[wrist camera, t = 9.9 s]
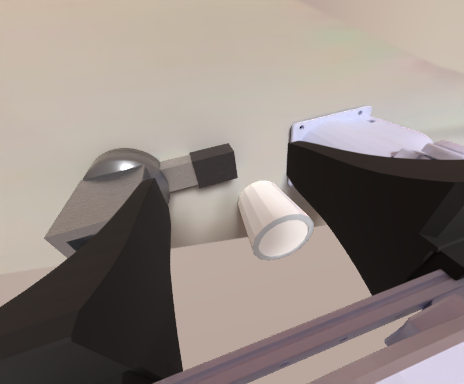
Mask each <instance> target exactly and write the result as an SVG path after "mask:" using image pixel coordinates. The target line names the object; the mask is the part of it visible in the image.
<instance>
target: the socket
mask: <svg viewBox="0 0 464 384" xmlns="http://www.w3.org/2000/svg"><path fill="white" fill-rule="evenodd" d="M147 179H151V176H150V174H149V172H148V170H147V168H146V166H145V165H141V166H137V167H133V168H129V169H125V170H121V171H117V172H113V173H109V174H105V175H101V176H97V177H93V178H89V179H85V180H81V181H80V183H79V184H78V186H77V187H76V189H75V190H74V192H73V193H72V195H71V197H70V198H69V200H68V201H67V203H66V204H65V206H64V208H63V209H62V211H61V212H60V214H59V215H58V217H57V218H56V220H55V222H54V223H53V225H52V226H51V228H50V229H49V231H48V233H47V234H46V236H45V237H44V239H46V240H47V241H48V242H49V243H50V244H51V245H53V246H54V247H55V248H56V249H57V250H59V251H60V252H61V253H62V254H63V255H64V256H66V257H67V258H69V257H70V256H71V255H73V254H74V253H75V252H76V251H77V250H79V249H80V248H81V247H82V246H83V245H85V244H86V243H87V242H88V241H89V240H90V239H91V238H92V237H93V236H94V235H95V234H96V233H98V232H99V231H100V230H101V229H102V228H103V227H104V226H105V224H106V223H107V222H108V221H109V220H110V219H111V218H112V217H113V216H114V214H115V213H116V212H117V211H118V210H119V209H120V208H121V206H122V205H123V204H124V203H125V201H126V200H127V199H128V198H129V196H130V195H131V194H132V193H133V191H134V190H135V189H136V188H137V186H138V185H139V184H140V183H141V182H142V181H144V180H147Z"/></svg>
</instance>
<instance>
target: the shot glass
mask: <svg viewBox="0 0 464 384" xmlns="http://www.w3.org/2000/svg"><path fill="white" fill-rule="evenodd" d="M238 206H239V209H240V213H241V216H242V219H243V222H244V225H245V228H246V231H247V234H248V237H249V240H250V243H251V247H252V250H253V253H254V255H255V256H257V257H258V258H260V259H264V260H275V259H280V258H283V257H285V256H288V255H290V254H292V253H293V252H295V251H296V250H298V249H299V248H301V247H302V246H303V245H304V244H305V243H306V242H307V241H308V240H309V238H310V236H311V234H312V232H313V225H314V223H313V222H312V220H311V219H310V217H309V216H308V215H307V214H306V213H305V212H304V211H303V210H302V209H301V208H299V207H298V206H297V205H296V204H295V203H294V202H293V201H292V200H291V199H290V198H289V197H288V196H287V195H286V194H285V193H284V192H282V191H281V190H280V189H279V188H278V187H277V186H276V185H275V184H274V183H272V182H269V181H258V182H255V183H252V184H250V185H249V186H248V187H246V188H245V189H244V190H243V192H242V193H241V194H240V196H239V200H238Z"/></svg>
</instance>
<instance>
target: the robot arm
mask: <svg viewBox="0 0 464 384" xmlns="http://www.w3.org/2000/svg"><path fill="white" fill-rule="evenodd" d="M371 111H372V107H371V106H364V107H360V108H355V109H351V110H347V111H343V112H339V113H335V114H331V115H327V116H323V117H319V118H315V119H310V120H306V121H302V122H298V123H295V124H294V125H293V126H292V128H291V143H288V154H287V174H286V175H287V176H288V184H289V185H290V186H294V187H295V188H296V189H297V191H298V192H299V193H300V194H301V195H302V196H303V197H304V198H305V199H306V201H307V202H308V203H309V204H310V205H311V206H312V207H313V208H314V209H315V210H316V211H317V212H318V214H319V215H320V216H321V217H322V218H323V219H324V221H325V222H326V223H327V225H328V226H329V227H330V229H331V230H332V232H333V233H334V234H335V236H336V237H337V238H338V240H339V242H340V243H341V245H342V246H343V247H344V249H345V250H346V252H347V254H348V255H349V257H350V258H351V260H352V262H353V263H354V265H355V266H356V268H357V270H358V271H359V273H360V275H361V277H362V278H363V280H364V282H365V284H366V285H367V287H368V289H369V291H370V293H371V294H372V296H371V297H369V298H366V299H364V300H361V301H359V302H356V303H353V304H351V305H348V306H346V307H344V308H341V309H338V310H336V311H333V312H331V313H328V314H326V315H323V316H321V317H318V318H316V319H313V320H311V321H308V322H306V323H303V324H301V325H298V326H296V327H293V328H291V329H288V330H286V331H283V332H281V333H278V334H276V335H273V336H271V337H268V338H265V339H263V340H261V341H258V342H255V343H253V344H250V345H248V346H246V347H243V348H240V349H238V350H235V351H233V352H230V353H228V354H225V355H223V356H220V357H218V358H215V359H213V360H210V361H208V362H205V363H203V364H200V365H198V366H195V367H193V368H190V369H188V370H185V371H183V368H182V361H181V355H180V348H179V341H178V335H177V327H176V319H175V312H174V304H173V294H172V284H171V273H170V243H171V222H170V214H169V207H168V205H167V203H166V201H165V199H164V197H163V194H162V192H161V190H160V188H159V186H158V184H157V182H156V179H155V178H151V179H147V180H144V181H142V182H141V183H140V184H139V185H138V186H137V188H136V189H135V190H134V191H133V193H132V194H131V195H130V196H129V198H128V199H127V200H126V201H125V203H124V204H123V205H122V206H121V208H120V209H119V210H118V211H117V212H116V213H115V214H114V216H113V217H112V218H111V219H110V220H109V221H108V222H107V223H106V224H105V226H104V227H103V228H102V229H101V230H100V231H99V232H98V233H96V234H95V235H94V236H93V237H92V238H91V239H90V240H89V241H88V242H87V243H86V244H85V245H83V246H82V247H81V248H80V249H79V250H77V251H76V252H75V253H74V254H73V255H71V256H70V257H69V258H68V259H67V260H65V261H64V262H63V263H62V264H60V265H59V266H58V267H57V268H55V269H54V270H53V271H51V272H50V273H49V274H47V275H46V276H45V277H43V278H42V279H41V280H39V281H38V282H36V283H35V284H34V285H32V286H31V287H29V288H28V289H27V290H25V291H24V292H22V293H21V294H19V295H18V296H17V297H15V298H13V299H12V300H10V301H9V302H7V303H6V304H4V305H3V306H1V307H0V384H247V383H249V382H251V381H254V380H256V379H259V378H261V377H263V376H266V375H268V374H270V373H273V372H275V371H277V370H280V369H282V368H284V367H287V366H289V365H291V364H294V363H296V362H298V361H301V360H303V359H306V358H308V357H310V356H313V355H315V354H317V353H320V352H322V351H324V350H326V349H329V348H331V347H334V346H336V345H338V344H341V343H343V342H345V341H348V340H350V339H353V338H355V337H357V336H359V335H362V334H364V333H367V332H369V331H371V330H374V329H376V328H378V327H381V326H383V325H385V324H388V323H390V322H392V321H395V320H397V319H400V318H402V317H404V316H407V315H409V314H411V313H414V312H416V311H418V310H421V309H422V311H421V312H419V313H417V314H415V315H413V316H412V317H410V318H408V320H407V321H406V322H405V324H404V325H403V326H402V327H400V328H399V329H398V330H397V331H396V332H394V333H393V334H391V335H390V336H389V337H387V338H386V339H385V344H386V345H387V346H388V347H385V348H383V349H381V350H379V351H376V352H374V353H372V354H370V355H368V356H365V357H363V358H361V359H359V360H357V361H354V362H352V363H350V364H348V365H346V366H344V367H342V368H339V369H337V370H335V371H333V372H331V373H329V374H327V375H325V376H322V377H320V378H318V379H316V380H314V381H312V382H310V383H308V384H464V146H462V145H459V144H456V143H453V142H449V141H446V140H442V141H438V142H434V143H433V141H432V140H431V139H430V138H429V137H427V136H426V135H425V134H423V133H421V132H418V131H415V130H412V129H409V128H406V127H403V126H400V125H397V124H394V123H391V122H388V121H385V120H381V119H378V118H375V117H372V116H370V114H371ZM301 125H302V127H301V129H300V126H301Z"/></svg>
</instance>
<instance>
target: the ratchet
mask: <svg viewBox="0 0 464 384" xmlns="http://www.w3.org/2000/svg"><path fill="white" fill-rule="evenodd" d="M141 165H145V166H146V168H147V170H148V172H149V174H150V176H151V178H155V179H156V182H157V184H158V186H159V188H160V190H161V192H162V194H163V197H164V199H165V201H166V203H167V205H168V203H169V198H170V193H169V192H172V191H176V190H180V189H184V188H187V187H191V186H195V185H199V188H202V187H206V186H210V185H213V184H217V183H221V182H224V181H228V180H232V179H235V178H238V177H237V170H236V163H235V156H234V151H233V149H232V148H231V146H230V145H229V143H228V144H224V145H219V146H215V147H211V148H207V149H203V150H199V151H195V152H191V153H190V155H187V156H183V157H179V158H175V159H171V160H167V161H163V162H160V161H158V160H157V159H156V158H155V157H153V156H152V155H150V154H148V153H146V152H143V151H140V150H136V149H130V148H120V149H114V150H110V151H108V152H105V153H103V154H102V155H100V156H99V157H98V158H97V159H96V160H95V161H94V162H93V164H92V165H91V167H90V168H89V170H88V172H87V173H86V175H85V176H84V178H83V180H85V179H89V178H93V177H97V176H101V175H105V174H109V173H113V172H117V171H121V170H125V169H129V168H133V167H137V166H141Z"/></svg>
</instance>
